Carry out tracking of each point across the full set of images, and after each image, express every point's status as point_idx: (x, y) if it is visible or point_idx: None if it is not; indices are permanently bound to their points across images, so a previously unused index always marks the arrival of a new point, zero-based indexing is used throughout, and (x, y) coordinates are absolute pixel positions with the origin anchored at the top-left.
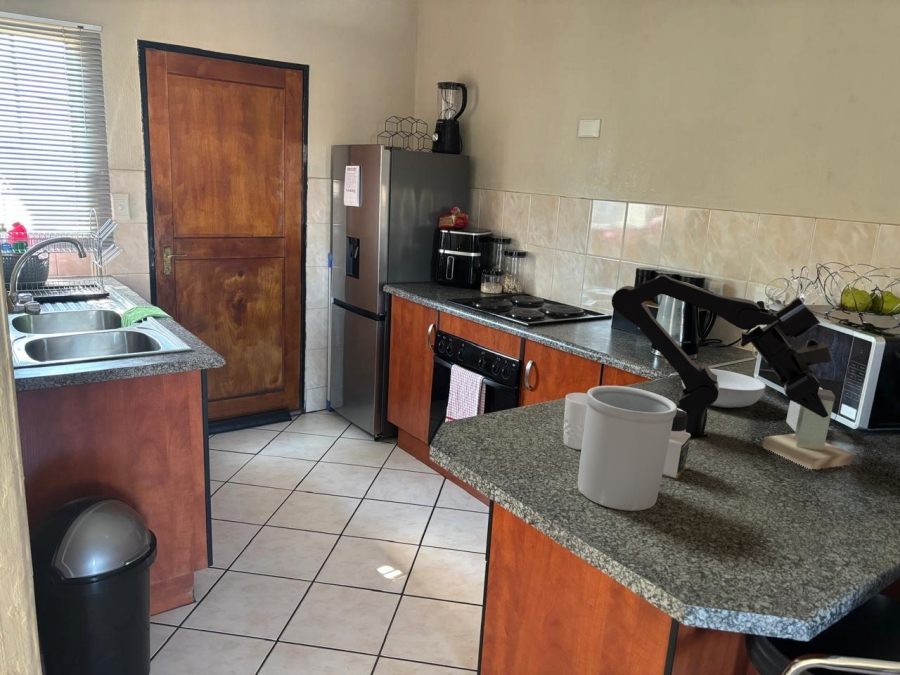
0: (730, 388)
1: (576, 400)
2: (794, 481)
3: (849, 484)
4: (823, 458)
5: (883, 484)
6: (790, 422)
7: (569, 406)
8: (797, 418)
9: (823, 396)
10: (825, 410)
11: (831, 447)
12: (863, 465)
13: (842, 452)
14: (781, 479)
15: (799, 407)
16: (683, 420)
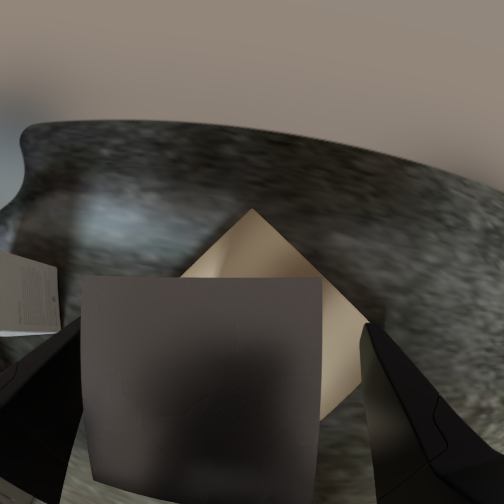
0: None
1: None
2: (476, 383)
3: (426, 251)
4: (359, 312)
5: (366, 165)
6: (19, 335)
7: None
8: (29, 333)
9: (318, 384)
10: (396, 348)
11: (224, 269)
12: (240, 186)
13: (260, 240)
14: (477, 410)
15: (3, 332)
16: None
